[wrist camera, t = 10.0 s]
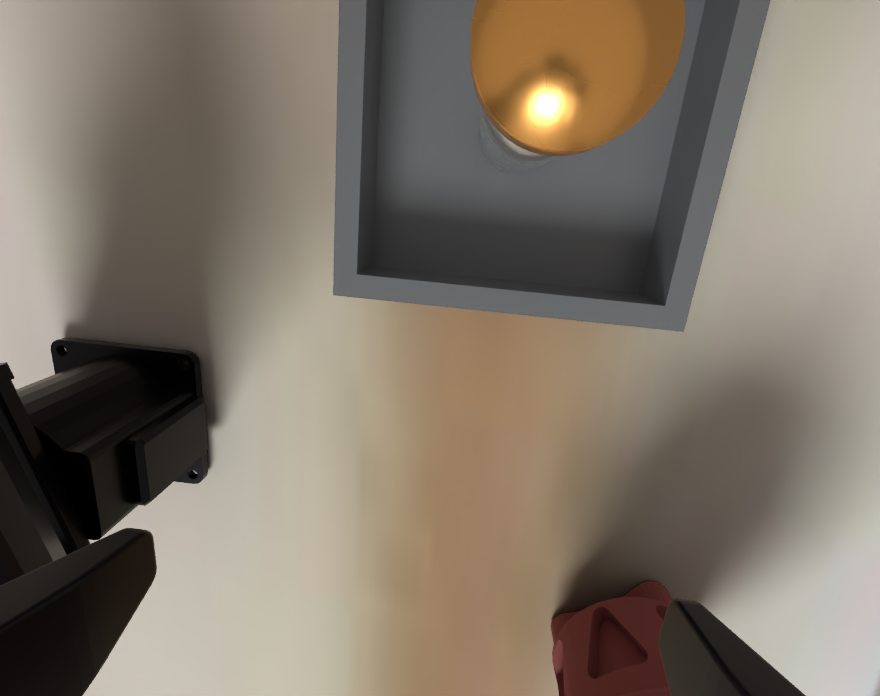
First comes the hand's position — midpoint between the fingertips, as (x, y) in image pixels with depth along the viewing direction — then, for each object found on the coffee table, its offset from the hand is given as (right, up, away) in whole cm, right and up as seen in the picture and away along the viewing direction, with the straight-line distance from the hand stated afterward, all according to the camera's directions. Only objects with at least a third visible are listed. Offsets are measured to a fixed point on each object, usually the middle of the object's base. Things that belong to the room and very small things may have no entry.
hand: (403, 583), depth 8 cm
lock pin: (+3, +12, +8) cm, 15 cm away
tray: (+4, +12, +9) cm, 15 cm away
